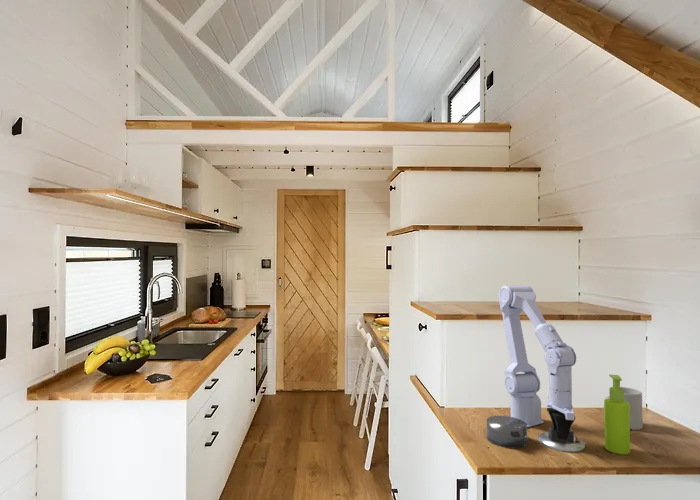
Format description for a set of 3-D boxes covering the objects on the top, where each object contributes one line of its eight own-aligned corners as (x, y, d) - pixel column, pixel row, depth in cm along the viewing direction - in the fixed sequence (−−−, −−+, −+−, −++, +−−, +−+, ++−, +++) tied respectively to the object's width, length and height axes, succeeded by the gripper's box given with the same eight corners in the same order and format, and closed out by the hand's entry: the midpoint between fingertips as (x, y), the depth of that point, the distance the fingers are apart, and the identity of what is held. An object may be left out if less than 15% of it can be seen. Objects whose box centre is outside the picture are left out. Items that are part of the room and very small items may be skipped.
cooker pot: (479, 430, 129) (479, 414, 130) (515, 430, 130) (514, 413, 130) (497, 450, 115) (497, 431, 116) (536, 450, 116) (536, 431, 116)
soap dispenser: (625, 445, 119) (624, 374, 120) (633, 455, 113) (631, 380, 114) (601, 442, 121) (600, 372, 122) (607, 452, 115) (606, 378, 116)
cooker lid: (532, 434, 127) (532, 420, 128) (574, 436, 126) (574, 423, 126) (546, 451, 116) (546, 436, 116) (592, 454, 114) (592, 439, 114)
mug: (627, 419, 140) (626, 386, 141) (649, 429, 132) (649, 393, 132) (595, 421, 138) (594, 387, 139) (615, 431, 130) (615, 395, 130)
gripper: (537, 381, 129) (538, 426, 129) (554, 395, 115) (555, 446, 114) (562, 382, 128) (562, 427, 128) (582, 397, 114) (583, 448, 113)
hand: (560, 436), depth 121 cm, fingers closed on cooker lid, 2 cm apart
